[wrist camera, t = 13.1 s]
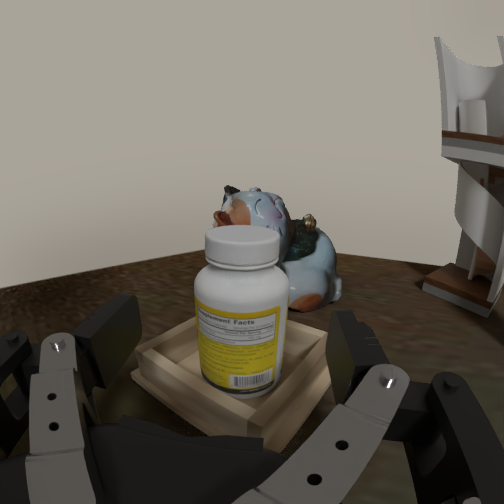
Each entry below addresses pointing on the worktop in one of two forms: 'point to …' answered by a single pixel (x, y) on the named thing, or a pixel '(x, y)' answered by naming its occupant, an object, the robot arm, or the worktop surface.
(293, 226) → the lucky cat figurine
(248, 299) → the supplement bottle
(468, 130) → the white shelf stand
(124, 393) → the worktop surface
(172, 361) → the birch dock
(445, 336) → the worktop surface
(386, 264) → the worktop surface
